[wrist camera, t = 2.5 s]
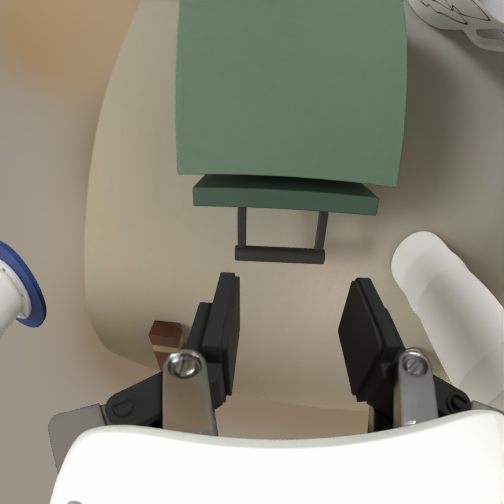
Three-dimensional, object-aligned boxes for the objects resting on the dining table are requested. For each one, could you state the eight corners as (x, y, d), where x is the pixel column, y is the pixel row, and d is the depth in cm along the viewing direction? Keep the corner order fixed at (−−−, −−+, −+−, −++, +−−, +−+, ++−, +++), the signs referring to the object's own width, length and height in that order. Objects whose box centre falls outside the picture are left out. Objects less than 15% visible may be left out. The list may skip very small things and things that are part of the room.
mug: (485, 36, 13) (544, 32, 4) (462, 75, 16) (529, 76, 8) (412, -37, 10) (458, -70, 1) (380, -6, 14) (429, -44, 5)
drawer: (336, 240, 25) (358, 288, 19) (217, 234, 26) (199, 282, 19) (354, 38, 16) (389, 12, 9) (217, 29, 17) (194, -5, 10)
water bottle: (446, 261, 27) (554, 432, 5) (401, 293, 29) (482, 486, 7) (429, 216, 24) (582, 407, 2) (379, 252, 27) (487, 486, 5)
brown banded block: (165, 358, 37) (161, 372, 35) (154, 320, 33) (147, 334, 31) (188, 361, 37) (184, 375, 35) (180, 323, 33) (175, 338, 31)
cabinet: (351, 158, 22) (396, 188, 14) (210, 150, 23) (177, 174, 15) (356, 13, 15) (399, -27, 7) (213, 3, 16) (185, -46, 7)
